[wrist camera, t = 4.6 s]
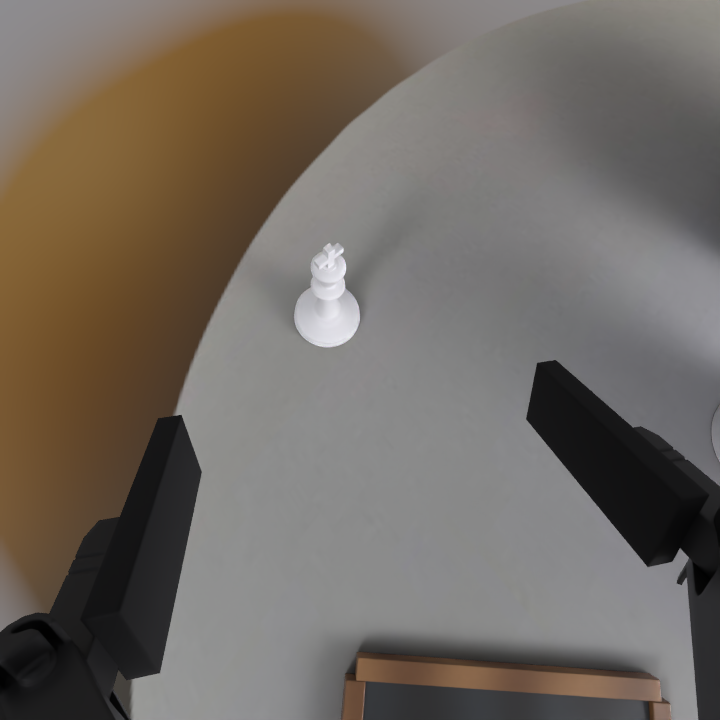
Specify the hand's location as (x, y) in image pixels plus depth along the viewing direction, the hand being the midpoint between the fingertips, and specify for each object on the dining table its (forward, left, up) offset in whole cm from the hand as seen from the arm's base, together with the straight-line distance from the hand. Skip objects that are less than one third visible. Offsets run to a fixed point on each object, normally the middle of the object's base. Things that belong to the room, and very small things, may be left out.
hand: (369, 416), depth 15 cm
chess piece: (-3, +9, -14) cm, 17 cm away
